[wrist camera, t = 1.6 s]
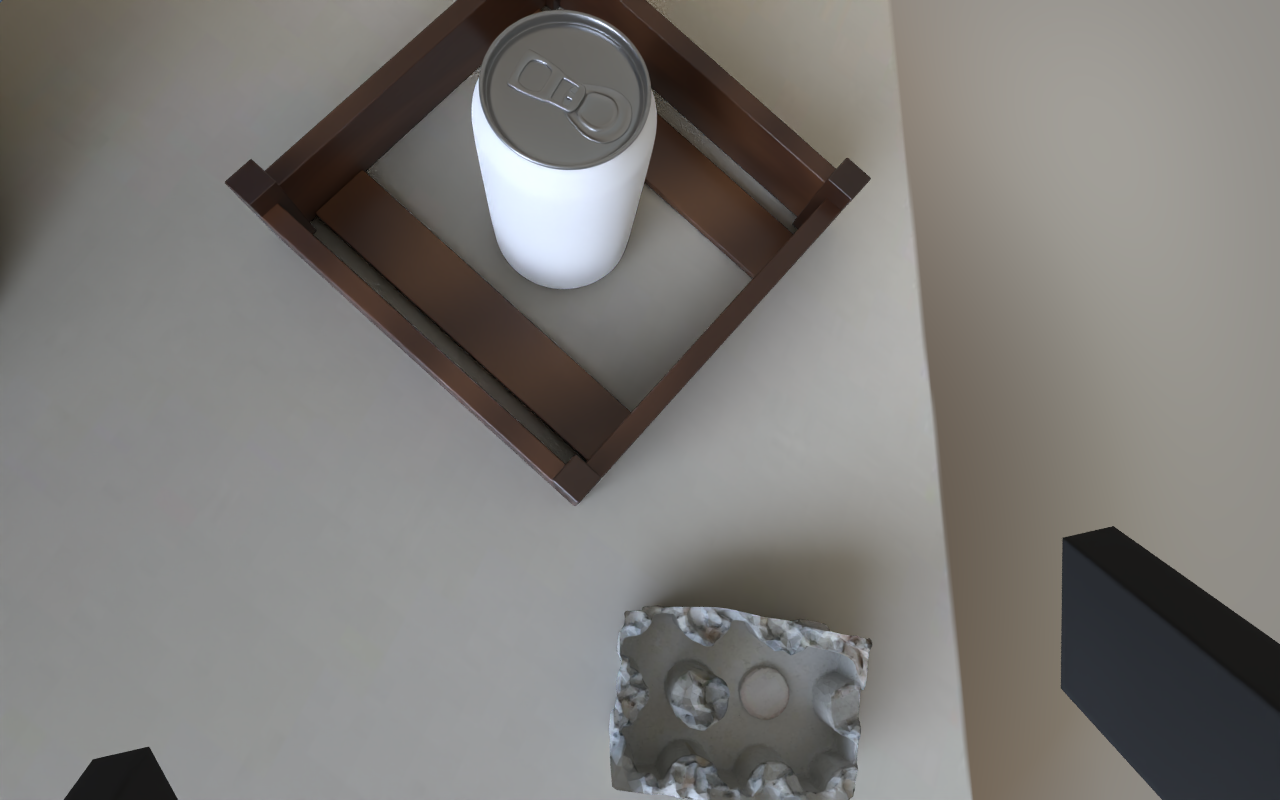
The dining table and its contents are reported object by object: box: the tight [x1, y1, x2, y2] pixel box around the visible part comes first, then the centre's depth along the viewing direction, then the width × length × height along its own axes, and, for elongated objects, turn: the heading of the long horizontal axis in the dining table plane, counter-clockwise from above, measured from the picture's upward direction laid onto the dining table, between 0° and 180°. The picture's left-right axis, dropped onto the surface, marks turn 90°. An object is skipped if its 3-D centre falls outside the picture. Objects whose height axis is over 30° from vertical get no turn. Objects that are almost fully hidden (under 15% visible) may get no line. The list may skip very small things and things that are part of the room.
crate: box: [225, 0, 871, 506], centre depth 34 cm, size 19×19×5 cm
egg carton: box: [609, 606, 872, 800], centre depth 32 cm, size 11×8×4 cm
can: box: [472, 10, 657, 289], centre depth 31 cm, size 6×6×12 cm
